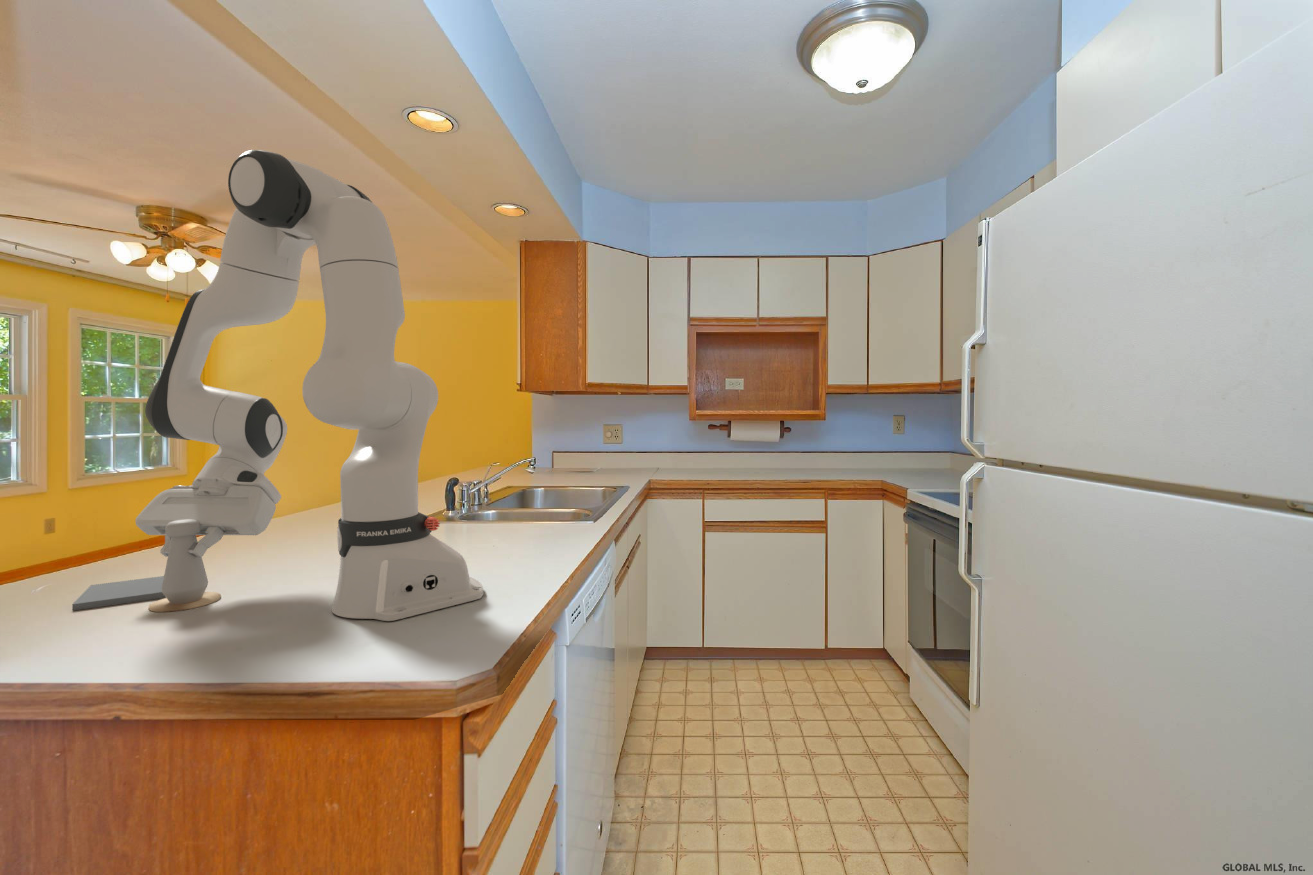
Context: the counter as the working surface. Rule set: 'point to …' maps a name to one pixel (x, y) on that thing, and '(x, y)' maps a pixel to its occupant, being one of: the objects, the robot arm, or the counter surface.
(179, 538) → the salt shaker
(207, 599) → the coaster
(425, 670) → the counter surface
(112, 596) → the mat
